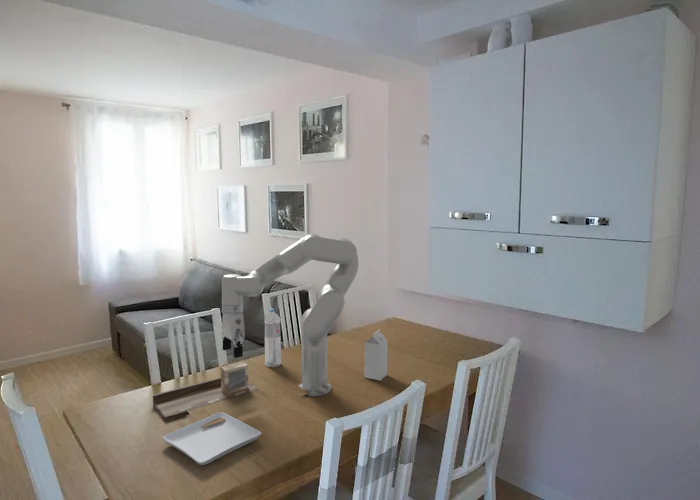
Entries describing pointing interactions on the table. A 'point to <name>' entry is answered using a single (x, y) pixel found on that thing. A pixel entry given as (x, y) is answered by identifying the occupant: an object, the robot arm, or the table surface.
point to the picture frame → (234, 377)
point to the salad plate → (211, 438)
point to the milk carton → (376, 357)
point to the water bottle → (272, 340)
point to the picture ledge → (193, 398)
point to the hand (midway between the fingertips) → (232, 353)
